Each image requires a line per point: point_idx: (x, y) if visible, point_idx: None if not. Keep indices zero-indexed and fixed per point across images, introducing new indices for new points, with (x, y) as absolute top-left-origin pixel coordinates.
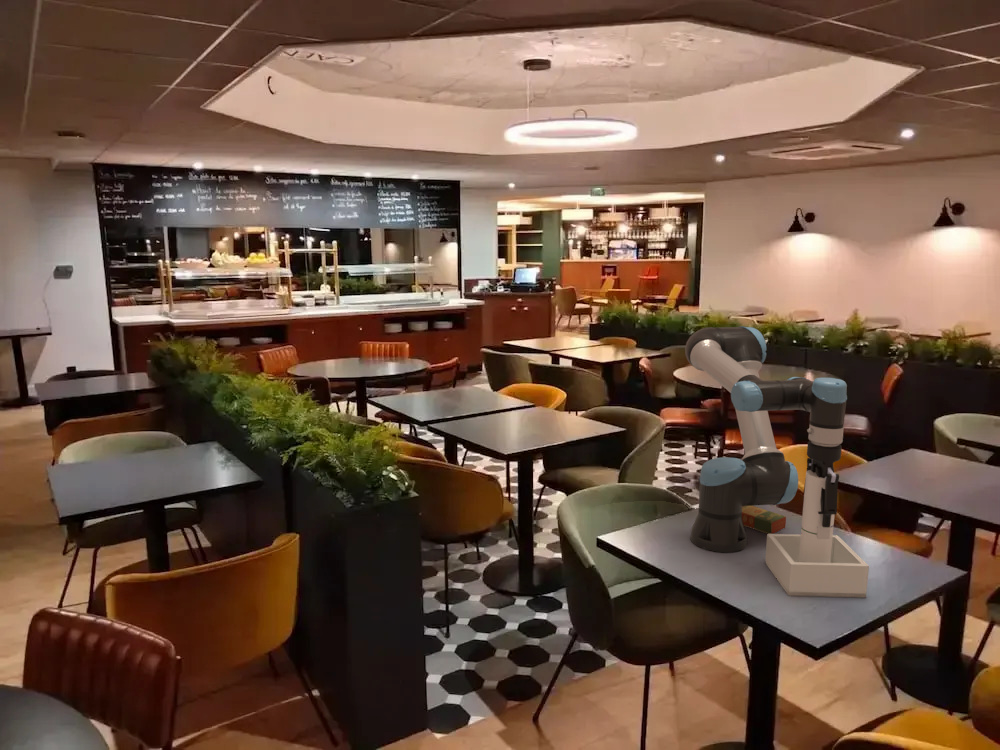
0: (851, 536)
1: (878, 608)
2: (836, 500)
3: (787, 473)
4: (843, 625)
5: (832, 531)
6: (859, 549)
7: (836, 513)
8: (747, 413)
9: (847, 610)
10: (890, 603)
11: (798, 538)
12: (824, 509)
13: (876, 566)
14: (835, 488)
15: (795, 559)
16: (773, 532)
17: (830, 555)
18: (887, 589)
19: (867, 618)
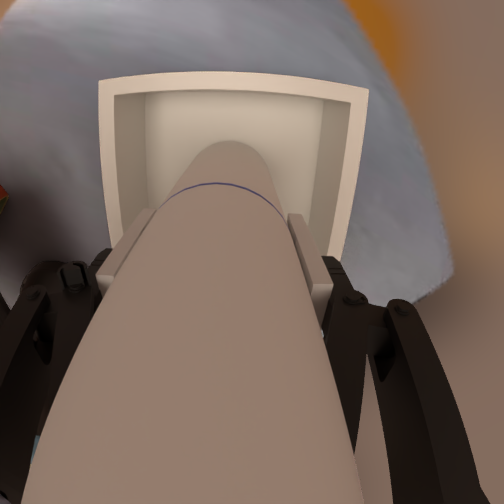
0: (5, 20)
1: (383, 94)
2: (442, 374)
3: None
4: (427, 207)
5: (265, 191)
6: (60, 7)
7: (412, 306)
8: None
9: (384, 168)
10: (362, 51)
11: (124, 216)
12: (371, 363)
13: None
14: (460, 459)
15: (146, 195)
16: (2, 190)
17: (256, 161)
18: (290, 13)
19: (416, 146)
